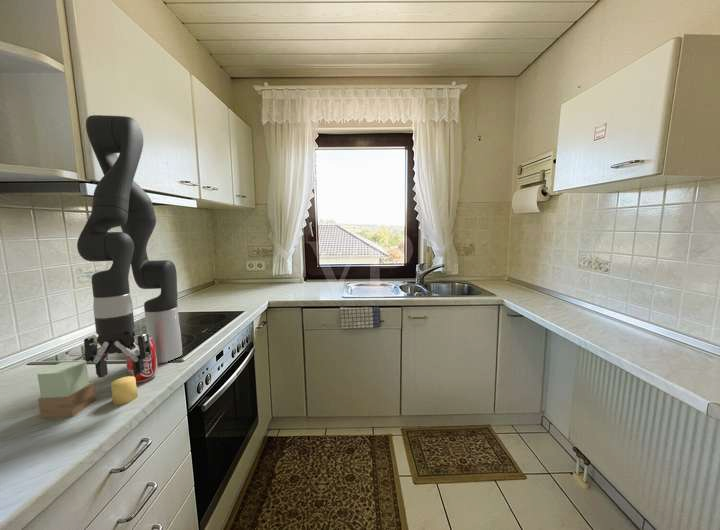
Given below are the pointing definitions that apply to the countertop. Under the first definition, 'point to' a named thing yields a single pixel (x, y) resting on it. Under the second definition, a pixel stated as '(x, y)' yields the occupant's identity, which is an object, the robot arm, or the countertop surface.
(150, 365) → the soda can
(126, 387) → the yellow rounded dome
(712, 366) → the countertop surface
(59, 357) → the countertop surface
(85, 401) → the walnut plinth
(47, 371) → the sage cube
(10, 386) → the countertop surface
